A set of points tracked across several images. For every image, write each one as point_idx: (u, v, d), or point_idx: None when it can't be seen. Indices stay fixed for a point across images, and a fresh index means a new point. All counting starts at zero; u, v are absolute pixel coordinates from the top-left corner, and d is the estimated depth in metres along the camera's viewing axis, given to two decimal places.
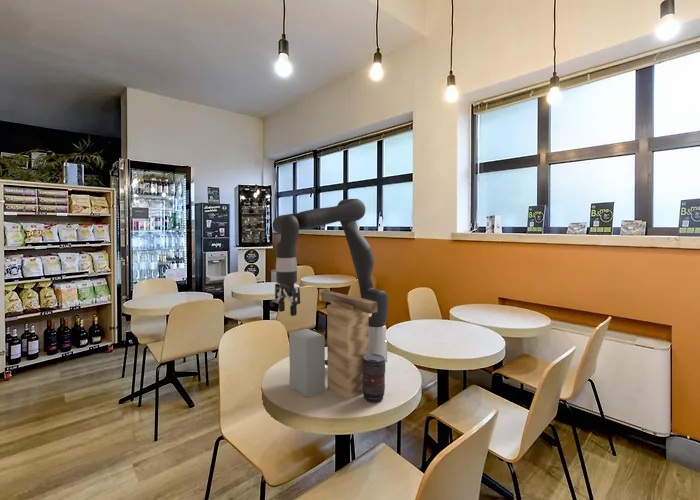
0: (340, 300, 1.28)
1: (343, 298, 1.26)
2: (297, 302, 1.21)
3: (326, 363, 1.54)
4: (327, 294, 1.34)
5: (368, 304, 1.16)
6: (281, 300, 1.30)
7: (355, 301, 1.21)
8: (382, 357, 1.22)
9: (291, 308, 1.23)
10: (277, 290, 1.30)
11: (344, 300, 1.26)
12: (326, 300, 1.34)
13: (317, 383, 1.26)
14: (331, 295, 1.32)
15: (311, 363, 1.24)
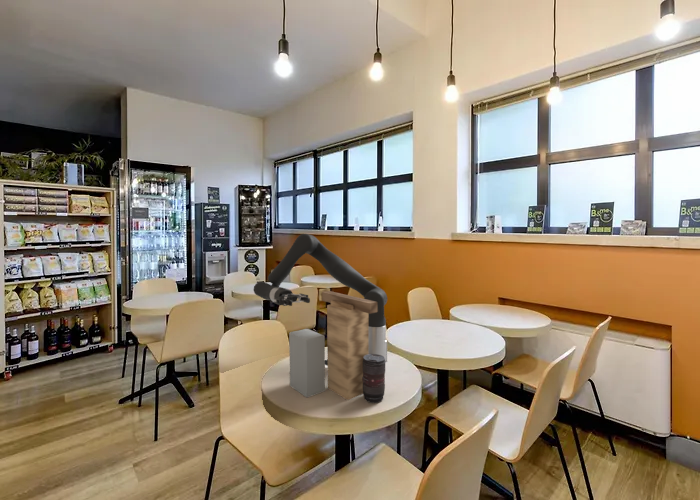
0: (340, 300, 1.28)
1: (343, 298, 1.26)
2: (279, 301, 1.43)
3: (326, 363, 1.54)
4: (327, 294, 1.34)
5: (368, 304, 1.16)
6: (303, 299, 1.49)
7: (355, 301, 1.21)
8: (382, 357, 1.22)
9: (287, 304, 1.42)
10: (301, 299, 1.53)
11: (344, 300, 1.26)
12: (326, 300, 1.34)
13: (317, 383, 1.26)
14: (331, 295, 1.32)
15: (311, 363, 1.24)
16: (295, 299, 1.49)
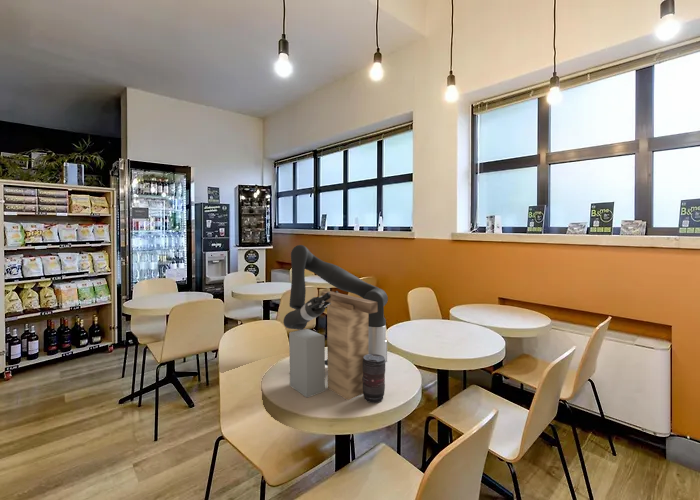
0: (340, 300, 1.28)
1: (343, 298, 1.26)
2: (316, 300, 1.34)
3: (326, 363, 1.54)
4: None
5: (368, 304, 1.16)
6: None
7: (355, 301, 1.21)
8: (382, 357, 1.22)
9: (326, 299, 1.34)
10: None
11: (344, 300, 1.26)
12: (326, 300, 1.34)
13: (317, 383, 1.26)
14: (331, 295, 1.32)
15: (311, 363, 1.24)
16: (324, 301, 1.39)
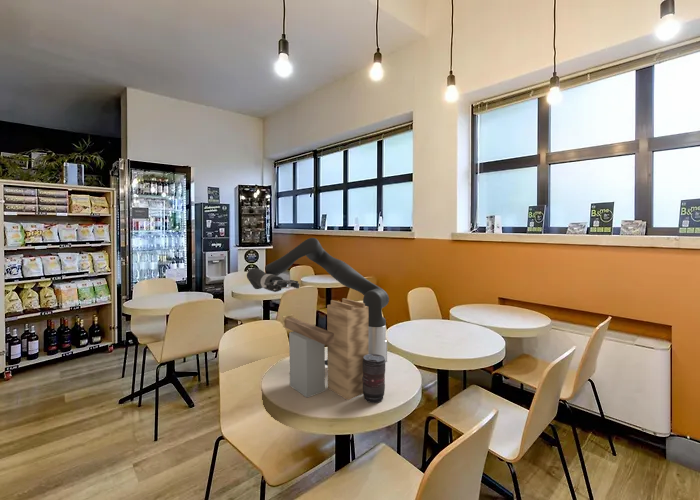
0: (300, 329, 1.29)
1: (303, 327, 1.28)
2: (268, 287, 1.45)
3: (327, 363, 1.54)
4: (289, 321, 1.35)
5: (324, 336, 1.17)
6: (293, 284, 1.51)
7: (313, 331, 1.22)
8: (382, 357, 1.22)
9: (276, 289, 1.45)
10: (292, 285, 1.55)
11: (303, 330, 1.27)
12: (289, 327, 1.36)
13: (317, 383, 1.26)
14: (293, 323, 1.33)
15: (311, 363, 1.24)
16: (285, 285, 1.51)
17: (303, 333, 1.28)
